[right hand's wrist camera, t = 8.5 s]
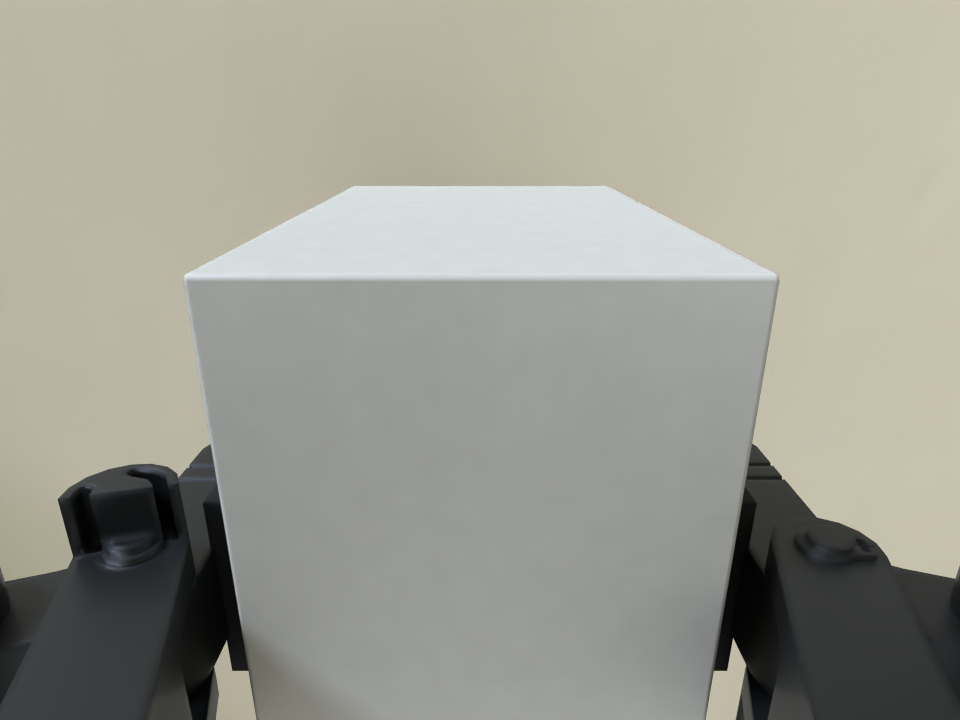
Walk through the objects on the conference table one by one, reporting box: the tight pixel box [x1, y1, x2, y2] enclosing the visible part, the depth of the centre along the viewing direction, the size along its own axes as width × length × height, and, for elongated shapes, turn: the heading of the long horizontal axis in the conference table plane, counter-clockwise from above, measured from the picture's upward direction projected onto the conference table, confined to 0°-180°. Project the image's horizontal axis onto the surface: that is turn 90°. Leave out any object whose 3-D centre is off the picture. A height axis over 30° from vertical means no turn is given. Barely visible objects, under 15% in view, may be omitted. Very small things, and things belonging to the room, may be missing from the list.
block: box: [184, 186, 779, 720], centre depth 11 cm, size 9×5×8 cm, turn 0°
